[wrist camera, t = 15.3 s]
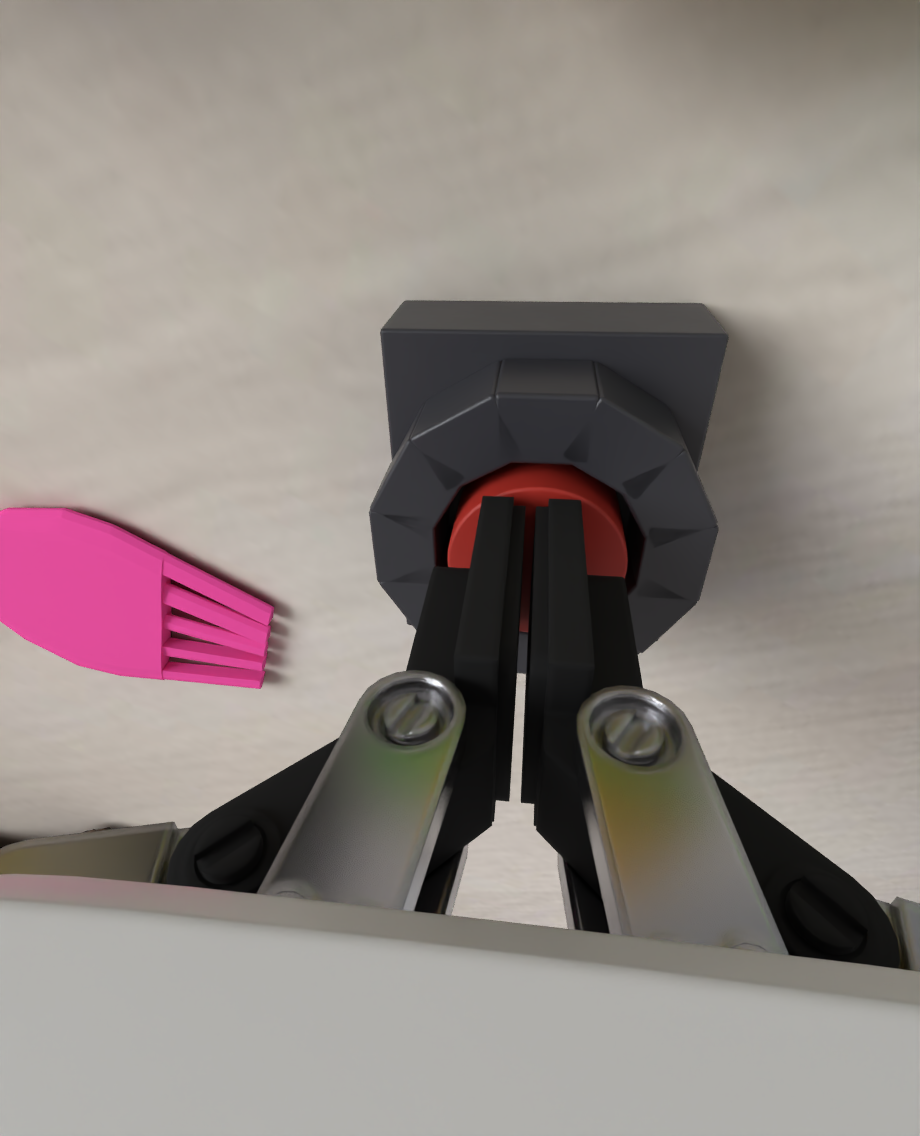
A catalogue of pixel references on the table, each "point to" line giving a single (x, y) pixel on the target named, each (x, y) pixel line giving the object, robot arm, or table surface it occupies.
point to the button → (531, 490)
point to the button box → (552, 432)
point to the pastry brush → (123, 602)
